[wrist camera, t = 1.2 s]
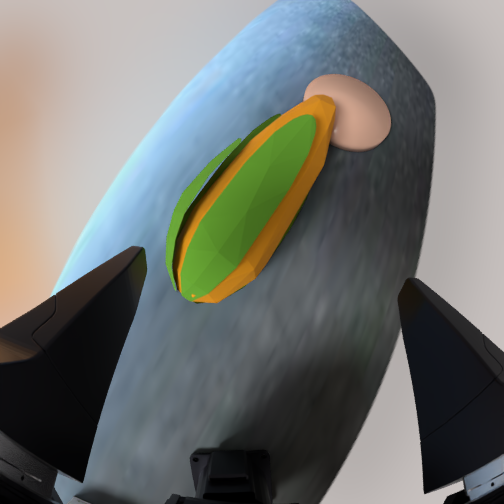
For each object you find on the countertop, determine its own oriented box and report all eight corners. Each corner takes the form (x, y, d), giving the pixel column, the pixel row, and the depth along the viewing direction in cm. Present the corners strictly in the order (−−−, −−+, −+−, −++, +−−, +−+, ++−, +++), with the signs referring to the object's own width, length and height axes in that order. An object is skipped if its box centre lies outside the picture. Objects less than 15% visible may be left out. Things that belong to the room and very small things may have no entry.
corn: (118, 255, 15) (300, 42, 19) (148, 267, 23) (281, 96, 26) (230, 335, 15) (381, 94, 19) (226, 321, 23) (345, 137, 26)
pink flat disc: (395, 155, 26) (400, 149, 25) (309, 150, 25) (312, 143, 24) (373, 86, 27) (377, 80, 26) (296, 78, 27) (298, 70, 26)
